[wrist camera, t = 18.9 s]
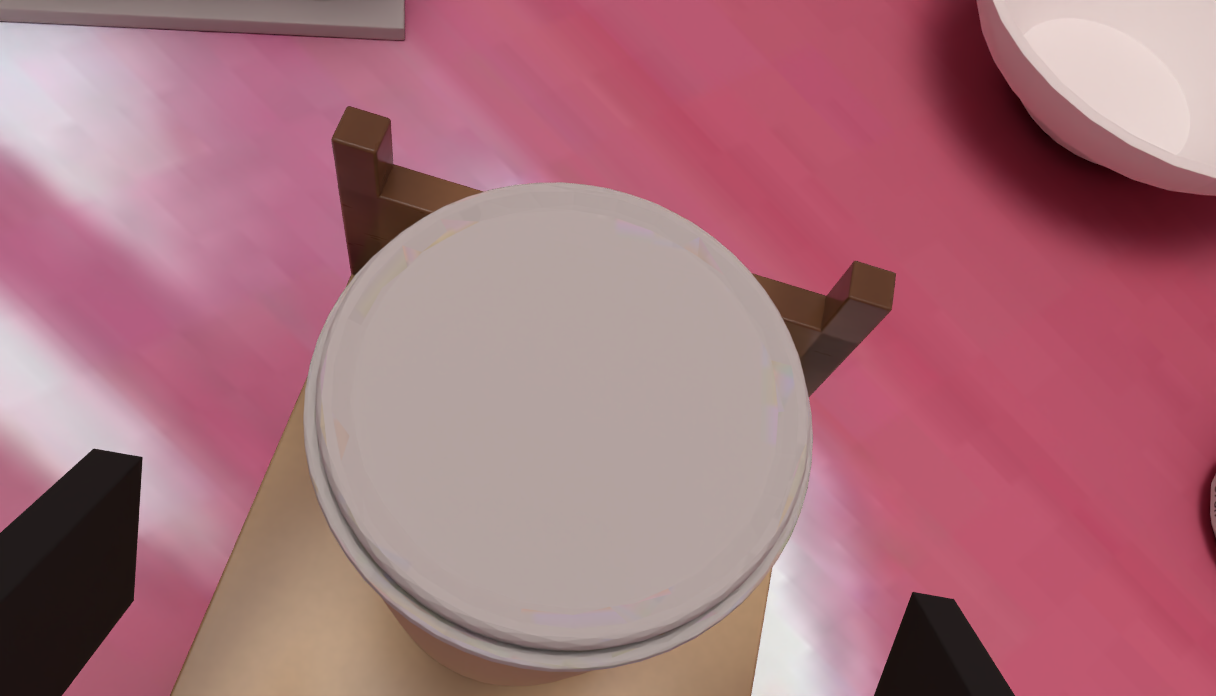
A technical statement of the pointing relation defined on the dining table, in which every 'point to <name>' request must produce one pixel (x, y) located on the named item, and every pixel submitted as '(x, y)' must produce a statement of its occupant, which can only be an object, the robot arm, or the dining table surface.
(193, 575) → the dining table surface
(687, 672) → the wooden chair
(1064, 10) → the bowl
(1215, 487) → the supplement can
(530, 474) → the coffee cup
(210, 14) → the test tube rack
